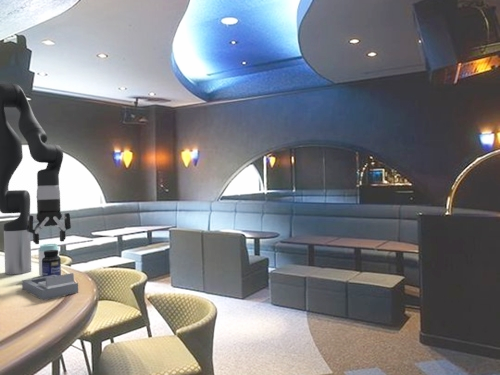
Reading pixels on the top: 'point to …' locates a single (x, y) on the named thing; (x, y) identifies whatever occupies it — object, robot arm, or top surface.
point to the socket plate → (44, 293)
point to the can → (41, 255)
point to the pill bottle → (51, 263)
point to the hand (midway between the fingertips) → (49, 242)
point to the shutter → (57, 281)
